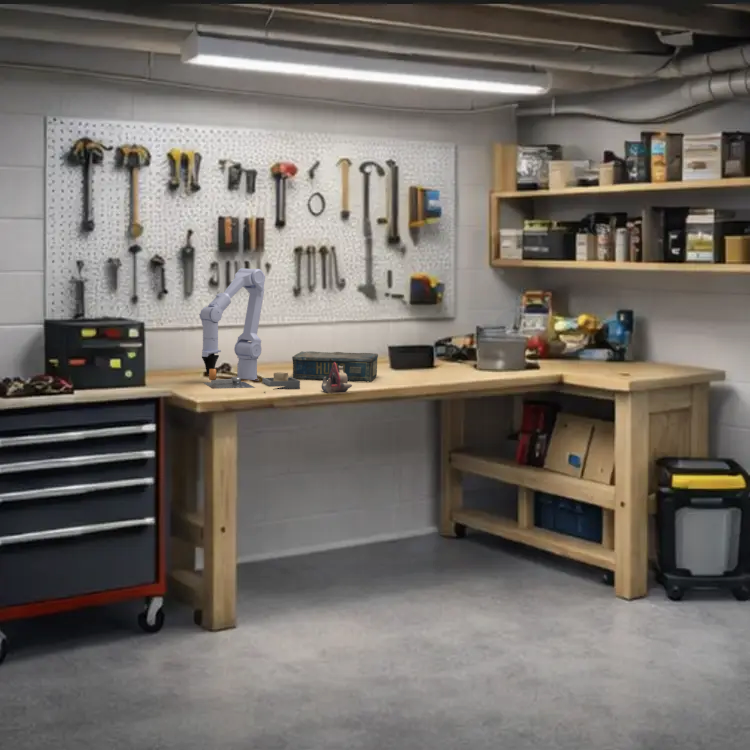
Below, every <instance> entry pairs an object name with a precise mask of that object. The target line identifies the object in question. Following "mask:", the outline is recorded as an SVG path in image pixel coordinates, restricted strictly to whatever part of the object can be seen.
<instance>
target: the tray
mask: <svg viewBox="0 0 750 750" xmlns="http://www.w3.org/2000/svg"><path fill="white" fill-rule="evenodd" d="M262 384H264V385H266V386H268V387H271V388H272V387H274V390H299V389H301V380H297V379H295V378H293V376H292V377H291V376H288V381H274V377H262Z"/></svg>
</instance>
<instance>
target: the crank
mask: <svg viewBox="0 0 750 750" xmlns="http://www.w3.org/2000/svg"><path fill="white" fill-rule="evenodd" d="M208 376H209V377H208V379H209V381H210V382H211V383H241V382H242V379H241V377H237V376H232V377H231V378H222V379H221V378H219V379H218V378H217V368H215V369H209V374H208Z"/></svg>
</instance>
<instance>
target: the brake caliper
mask: <svg viewBox="0 0 750 750" xmlns="http://www.w3.org/2000/svg"><path fill="white" fill-rule="evenodd" d="M332 375H333V376H332ZM348 382H349V381H348V377H347V374H346V373H344V372H343V366H342V367H341V366H338V369H337V366H336V363H335V362H334V363H333V366H332V368H331V371H330V374H329V379H328V381H327V380H326V377H324V379H323V380H322V383H321V389H322V391H323V392H324V393H327V394H333V395H335V394H339V395H342V394H343V395H344V394H352V392H350V391H348V390H349V389H350V388H352V387H353V384H352V383H348Z"/></svg>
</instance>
